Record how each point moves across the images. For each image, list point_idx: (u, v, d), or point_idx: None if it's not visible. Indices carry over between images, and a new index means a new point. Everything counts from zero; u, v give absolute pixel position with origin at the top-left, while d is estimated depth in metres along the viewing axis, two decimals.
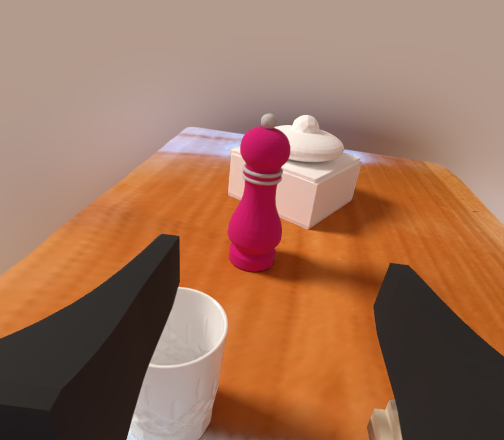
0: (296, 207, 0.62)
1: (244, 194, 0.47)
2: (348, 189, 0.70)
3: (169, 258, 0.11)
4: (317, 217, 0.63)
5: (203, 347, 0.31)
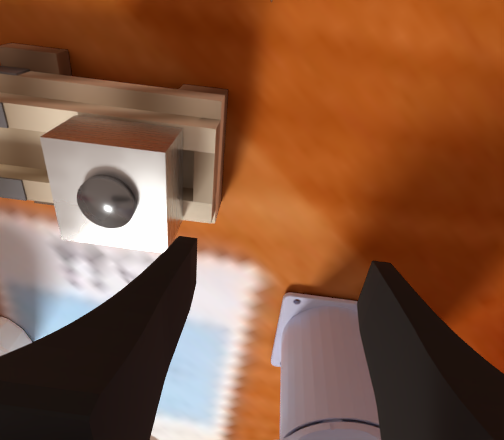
0: None
1: None
2: None
3: (188, 261, 0.11)
4: None
5: None
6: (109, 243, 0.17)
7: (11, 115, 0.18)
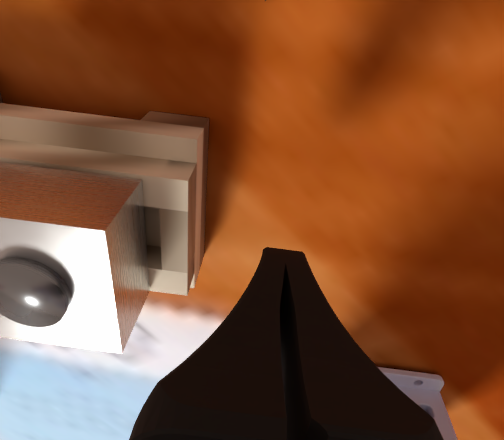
0: None
1: None
2: None
3: (283, 273, 0.11)
4: None
5: None
6: (40, 340, 0.12)
7: None
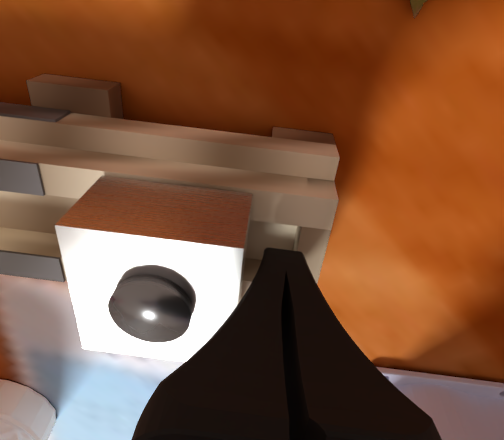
0: None
1: None
2: None
3: None
4: None
5: None
6: (149, 354, 0.12)
7: (50, 179, 0.13)
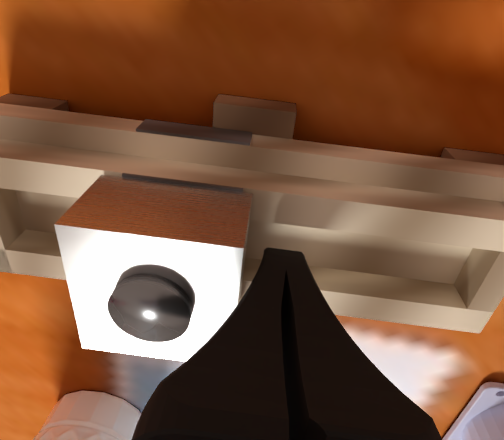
0: None
1: None
2: None
3: (284, 273, 0.11)
4: None
5: None
6: (149, 354, 0.12)
7: None
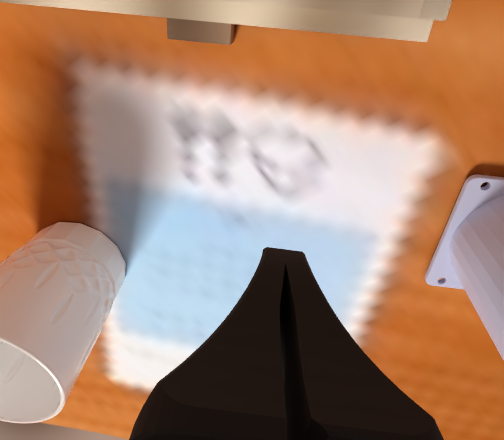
0: None
1: None
2: None
3: (283, 273, 0.11)
4: None
5: None
6: None
7: None
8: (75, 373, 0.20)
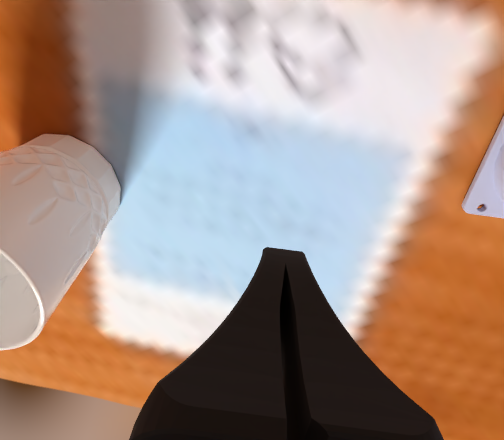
0: None
1: None
2: None
3: (283, 273, 0.11)
4: None
5: None
6: None
7: None
8: (58, 289, 0.17)
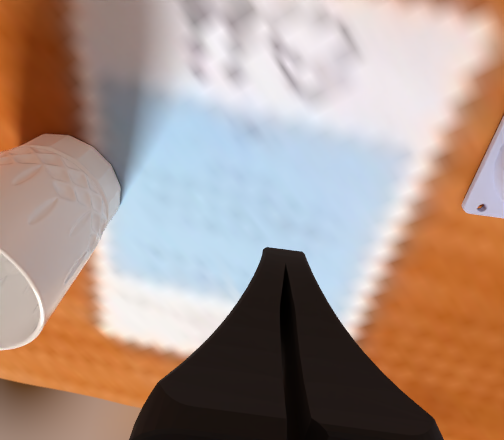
0: None
1: None
2: None
3: (283, 273, 0.11)
4: None
5: None
6: None
7: None
8: (58, 289, 0.17)
